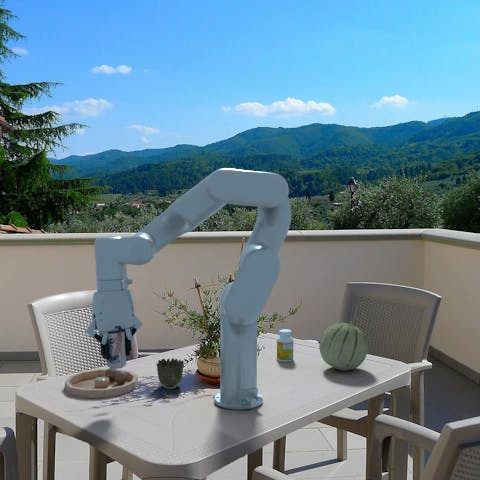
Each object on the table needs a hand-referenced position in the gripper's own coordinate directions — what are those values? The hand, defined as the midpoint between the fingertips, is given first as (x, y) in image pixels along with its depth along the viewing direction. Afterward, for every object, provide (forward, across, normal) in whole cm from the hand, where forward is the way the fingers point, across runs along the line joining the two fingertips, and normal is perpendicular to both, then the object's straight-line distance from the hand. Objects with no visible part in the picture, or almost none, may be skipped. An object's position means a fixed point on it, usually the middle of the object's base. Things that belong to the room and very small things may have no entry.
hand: (116, 355), depth 154 cm
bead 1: (+12, -5, -18) cm, 22 cm away
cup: (+14, -17, -5) cm, 22 cm away
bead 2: (+12, -6, -14) cm, 19 cm away
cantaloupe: (+16, -70, +5) cm, 73 cm away
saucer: (+13, -1, -15) cm, 19 cm away
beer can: (+3, 0, 0) cm, 3 cm away
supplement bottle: (+15, -62, -13) cm, 65 cm away
